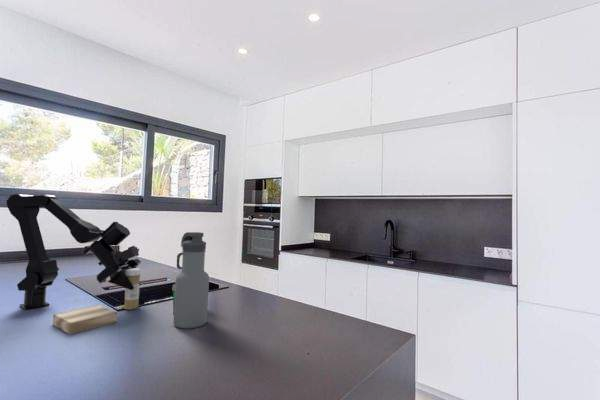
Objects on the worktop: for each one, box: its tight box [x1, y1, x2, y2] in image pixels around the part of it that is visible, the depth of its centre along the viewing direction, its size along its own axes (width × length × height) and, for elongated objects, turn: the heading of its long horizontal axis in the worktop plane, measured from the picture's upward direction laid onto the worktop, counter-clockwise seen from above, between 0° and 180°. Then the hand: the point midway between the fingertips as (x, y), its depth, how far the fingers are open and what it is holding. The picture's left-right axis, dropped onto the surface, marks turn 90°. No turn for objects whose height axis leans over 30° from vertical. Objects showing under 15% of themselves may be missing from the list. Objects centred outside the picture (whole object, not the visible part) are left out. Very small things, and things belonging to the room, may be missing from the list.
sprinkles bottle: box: [123, 267, 142, 310], centre depth 108 cm, size 5×5×14 cm
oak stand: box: [52, 304, 118, 335], centre depth 92 cm, size 12×12×3 cm
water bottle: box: [173, 231, 210, 330], centre depth 96 cm, size 10×10×28 cm
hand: (136, 287), depth 108 cm, fingers closed on sprinkles bottle, 4 cm apart
